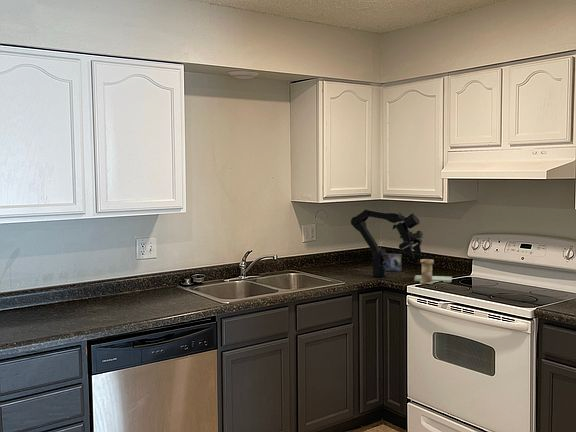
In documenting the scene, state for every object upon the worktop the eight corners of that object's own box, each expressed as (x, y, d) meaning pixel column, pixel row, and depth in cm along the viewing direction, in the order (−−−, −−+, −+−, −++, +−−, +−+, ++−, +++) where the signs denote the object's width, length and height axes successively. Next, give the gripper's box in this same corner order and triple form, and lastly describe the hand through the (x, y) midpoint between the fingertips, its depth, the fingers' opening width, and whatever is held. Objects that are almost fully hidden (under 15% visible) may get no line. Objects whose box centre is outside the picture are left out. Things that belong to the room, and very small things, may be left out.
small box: (383, 271, 366) (383, 254, 366) (384, 270, 373) (384, 253, 372) (401, 272, 364) (401, 255, 363) (401, 270, 370) (401, 253, 370)
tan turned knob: (419, 284, 324) (419, 260, 324) (420, 281, 331) (420, 258, 330) (433, 284, 322) (433, 261, 322) (433, 282, 329) (434, 259, 328)
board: (414, 280, 335) (414, 278, 334) (415, 277, 346) (415, 275, 346) (451, 282, 329) (451, 280, 329) (451, 278, 341) (451, 276, 341)
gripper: (408, 226, 326) (422, 252, 322) (422, 224, 341) (436, 248, 337) (392, 236, 332) (406, 261, 328) (407, 233, 347) (420, 257, 343)
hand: (417, 257), depth 334 cm, fingers open, 9 cm apart
